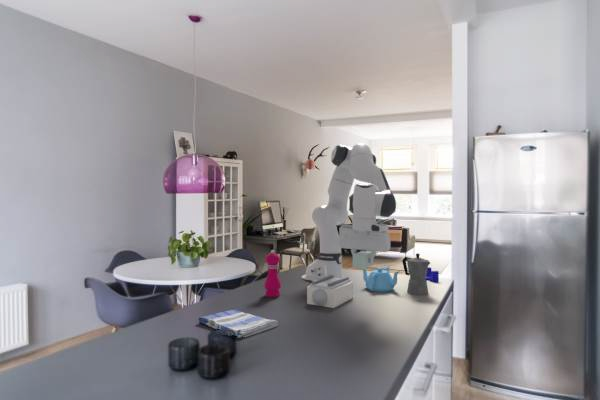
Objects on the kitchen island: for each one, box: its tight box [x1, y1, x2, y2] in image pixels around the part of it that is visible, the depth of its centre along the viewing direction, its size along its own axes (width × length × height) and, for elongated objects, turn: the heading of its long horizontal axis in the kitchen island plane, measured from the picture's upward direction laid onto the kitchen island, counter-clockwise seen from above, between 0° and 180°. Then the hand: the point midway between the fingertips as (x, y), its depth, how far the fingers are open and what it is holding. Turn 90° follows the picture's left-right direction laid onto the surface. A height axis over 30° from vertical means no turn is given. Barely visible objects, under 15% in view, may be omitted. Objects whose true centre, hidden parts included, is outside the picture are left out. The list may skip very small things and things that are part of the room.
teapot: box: [362, 265, 400, 293], centre depth 189 cm, size 15×15×10 cm
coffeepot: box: [401, 252, 431, 296], centre depth 183 cm, size 15×9×18 cm, turn 33°
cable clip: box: [426, 266, 440, 283], centre depth 210 cm, size 12×4×6 cm, turn 2°
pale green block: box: [352, 250, 374, 270], centre depth 156 cm, size 4×11×5 cm, turn 148°
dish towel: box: [198, 309, 279, 339], centre depth 138 cm, size 17×24×3 cm
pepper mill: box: [264, 249, 282, 298], centre depth 178 cm, size 7×7×20 cm
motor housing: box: [306, 275, 354, 309], centre depth 170 cm, size 12×22×9 cm, turn 148°
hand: (363, 261), depth 155 cm, fingers closed on pale green block, 4 cm apart
